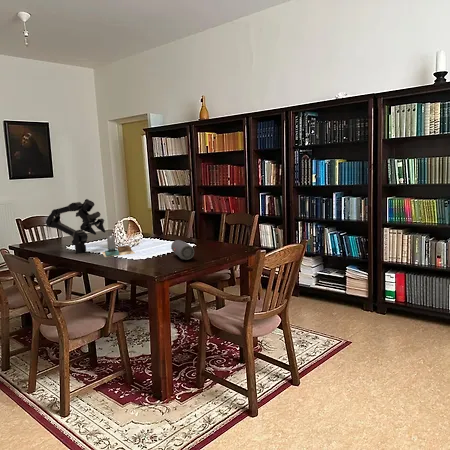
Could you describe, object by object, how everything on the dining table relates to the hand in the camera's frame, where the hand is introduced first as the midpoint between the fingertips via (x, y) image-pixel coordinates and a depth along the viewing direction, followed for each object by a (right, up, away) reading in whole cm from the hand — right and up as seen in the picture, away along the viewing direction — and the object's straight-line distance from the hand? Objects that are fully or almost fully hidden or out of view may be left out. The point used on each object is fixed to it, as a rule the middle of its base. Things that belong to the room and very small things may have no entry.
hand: (100, 233), depth 284 cm
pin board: (+13, -14, -5) cm, 19 cm away
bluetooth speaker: (+57, -15, -25) cm, 64 cm away
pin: (+10, -13, -10) cm, 20 cm away
